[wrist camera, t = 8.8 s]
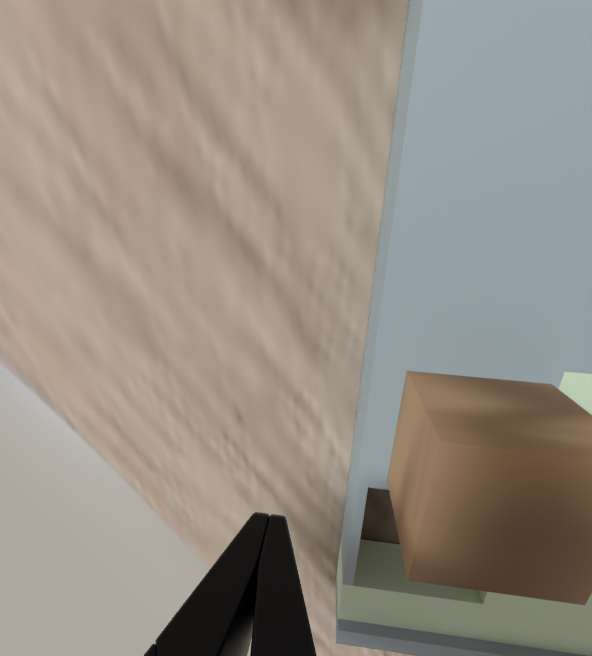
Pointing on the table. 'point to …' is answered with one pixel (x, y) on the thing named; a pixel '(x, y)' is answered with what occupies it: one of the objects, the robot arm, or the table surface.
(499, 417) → the block
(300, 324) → the table surface
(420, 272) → the board
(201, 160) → the table surface
